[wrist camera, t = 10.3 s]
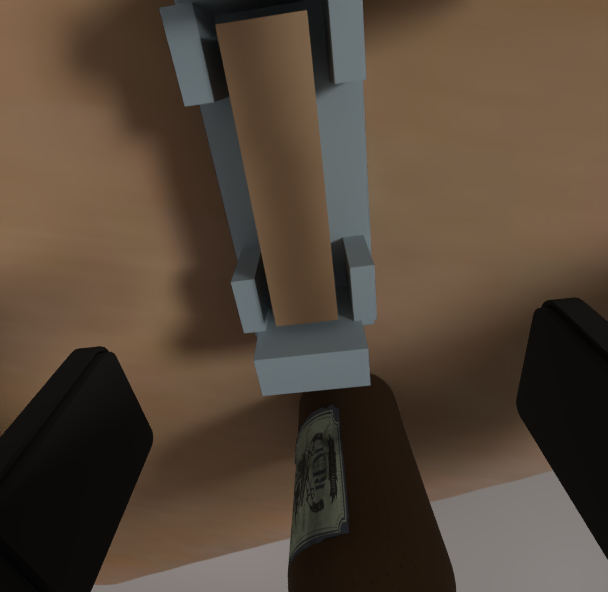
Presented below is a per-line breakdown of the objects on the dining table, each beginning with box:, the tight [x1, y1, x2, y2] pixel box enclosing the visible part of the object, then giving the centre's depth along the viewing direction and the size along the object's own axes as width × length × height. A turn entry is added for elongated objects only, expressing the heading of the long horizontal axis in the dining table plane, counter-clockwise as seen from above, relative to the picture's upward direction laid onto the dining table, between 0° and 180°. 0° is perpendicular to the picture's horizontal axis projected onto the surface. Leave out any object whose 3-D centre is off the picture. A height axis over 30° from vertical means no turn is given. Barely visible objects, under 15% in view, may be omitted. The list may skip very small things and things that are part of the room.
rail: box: [215, 10, 338, 326], centre depth 23 cm, size 4×16×6 cm, turn 7°
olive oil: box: [288, 374, 456, 592], centre depth 27 cm, size 11×11×25 cm
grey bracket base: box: [159, 0, 377, 396], centre depth 23 cm, size 10×26×9 cm, turn 8°
